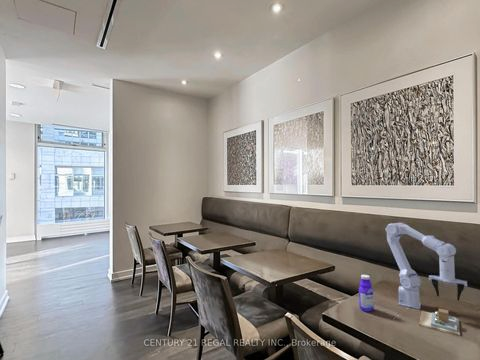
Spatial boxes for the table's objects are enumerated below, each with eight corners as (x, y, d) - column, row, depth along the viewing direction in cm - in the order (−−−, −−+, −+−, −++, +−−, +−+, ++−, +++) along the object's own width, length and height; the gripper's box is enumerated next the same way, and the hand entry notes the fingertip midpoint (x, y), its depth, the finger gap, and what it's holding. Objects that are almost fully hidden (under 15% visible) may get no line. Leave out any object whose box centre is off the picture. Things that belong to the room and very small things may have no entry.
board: (419, 325, 121) (419, 323, 122) (421, 312, 134) (421, 310, 134) (459, 335, 113) (459, 334, 113) (458, 320, 125) (458, 319, 125)
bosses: (434, 325, 120) (434, 319, 120) (435, 315, 129) (434, 310, 129) (442, 327, 118) (441, 321, 118) (442, 317, 127) (442, 312, 127)
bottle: (366, 313, 134) (365, 278, 134) (357, 308, 139) (356, 275, 140) (376, 310, 137) (375, 276, 138) (366, 305, 142) (365, 273, 143)
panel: (430, 325, 120) (430, 313, 120) (432, 314, 130) (431, 303, 130) (457, 332, 114) (456, 319, 114) (456, 319, 124) (455, 308, 125)
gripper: (428, 268, 130) (429, 296, 129) (466, 274, 121) (468, 304, 120) (429, 265, 135) (430, 292, 135) (466, 270, 126) (467, 299, 126)
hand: (447, 297), depth 128 cm, fingers open, 7 cm apart
